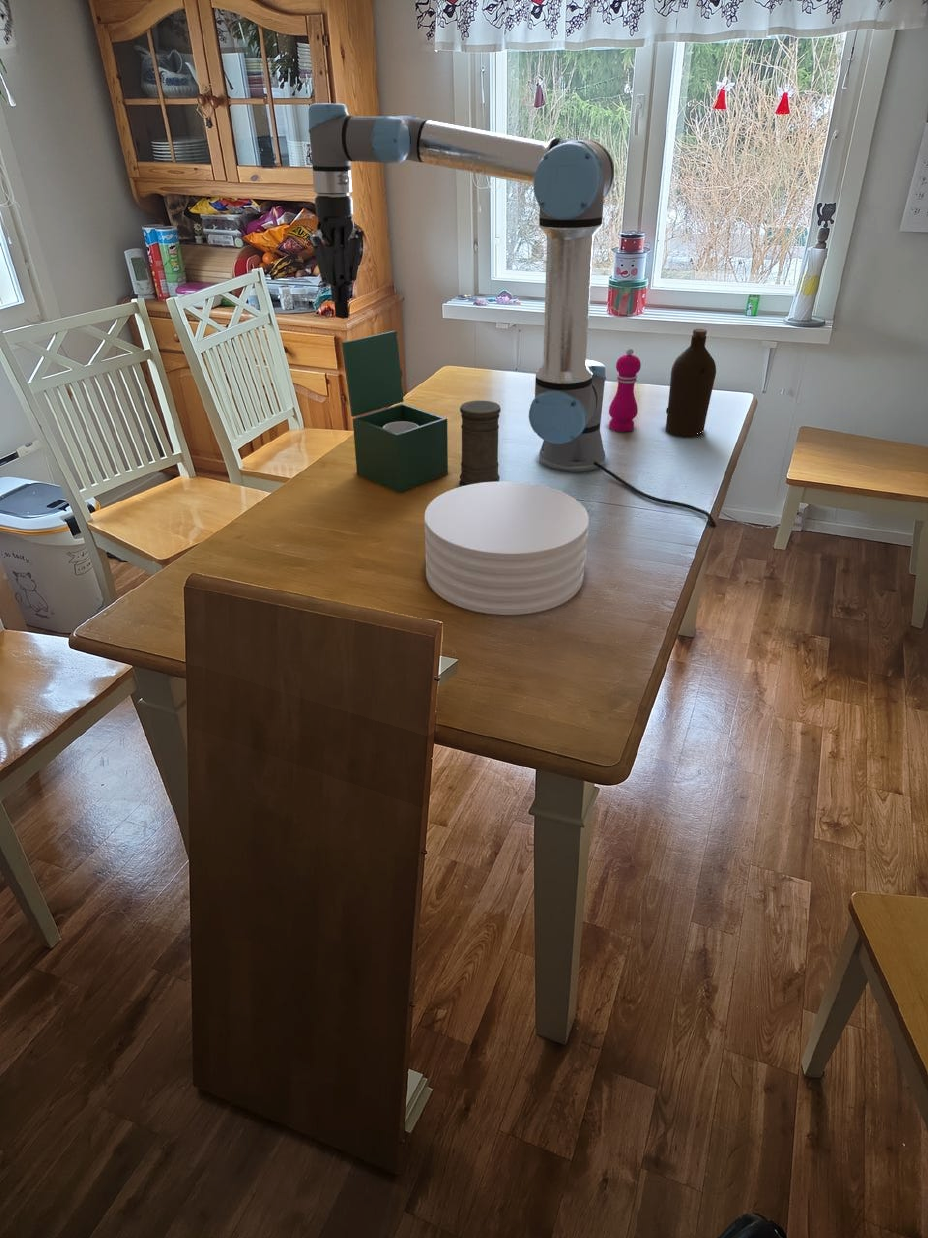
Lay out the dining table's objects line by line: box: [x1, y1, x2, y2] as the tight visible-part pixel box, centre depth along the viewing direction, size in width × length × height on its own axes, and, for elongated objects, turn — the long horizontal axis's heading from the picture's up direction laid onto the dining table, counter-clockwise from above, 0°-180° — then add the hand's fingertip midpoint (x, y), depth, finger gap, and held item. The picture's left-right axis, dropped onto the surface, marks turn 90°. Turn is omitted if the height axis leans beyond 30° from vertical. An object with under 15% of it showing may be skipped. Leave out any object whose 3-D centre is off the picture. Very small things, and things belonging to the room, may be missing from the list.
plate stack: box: [424, 481, 590, 616], centre depth 138 cm, size 28×28×12 cm
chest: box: [352, 403, 449, 493], centre depth 175 cm, size 15×15×13 cm
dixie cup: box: [382, 421, 419, 434], centre depth 176 cm, size 8×8×10 cm
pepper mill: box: [608, 347, 642, 433], centre depth 199 cm, size 7×7×20 cm
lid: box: [341, 330, 405, 418], centre depth 173 cm, size 15×15×5 cm
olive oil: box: [665, 328, 717, 439], centre depth 195 cm, size 11×11×25 cm
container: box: [458, 399, 502, 487], centre depth 168 cm, size 9×9×18 cm
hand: (342, 316), depth 172 cm, fingers closed
